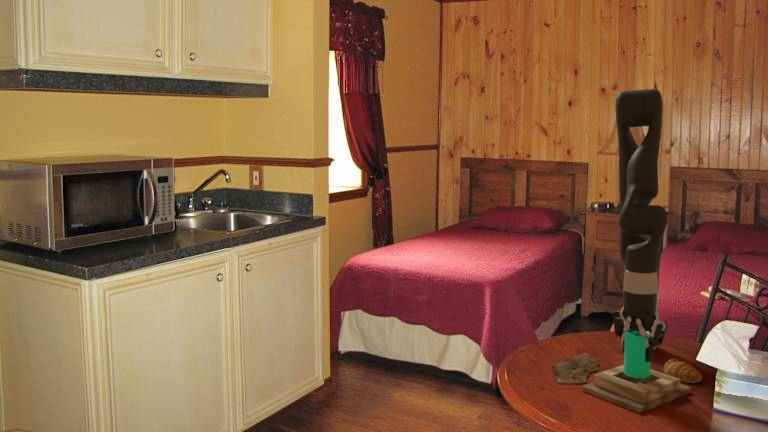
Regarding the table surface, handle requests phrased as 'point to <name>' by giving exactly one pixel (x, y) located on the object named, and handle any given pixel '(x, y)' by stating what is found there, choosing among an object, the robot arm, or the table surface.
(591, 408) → the table surface
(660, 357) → the table surface
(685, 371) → the pastry
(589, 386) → the board
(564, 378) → the wooden fragment
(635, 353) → the candle
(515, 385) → the table surface
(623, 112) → the robot arm
